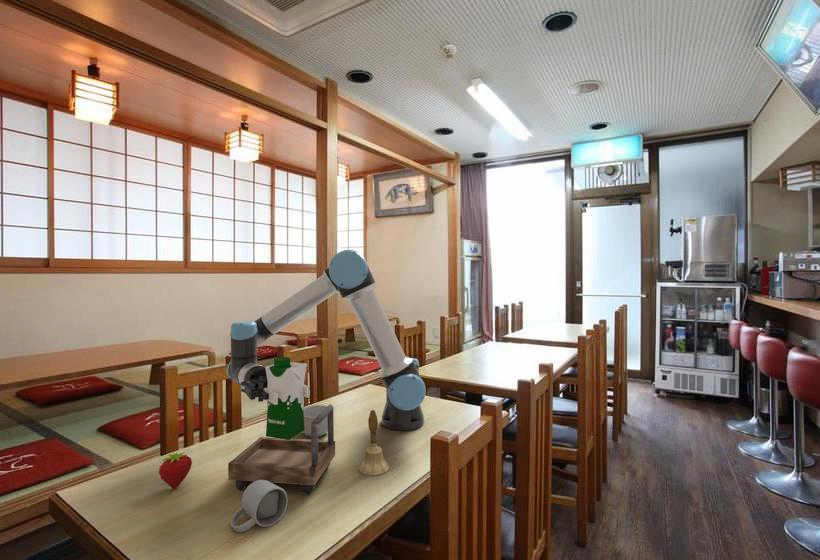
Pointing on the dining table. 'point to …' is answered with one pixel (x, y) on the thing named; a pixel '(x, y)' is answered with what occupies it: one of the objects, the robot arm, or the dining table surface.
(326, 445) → the walnut cart
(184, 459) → the strawberry
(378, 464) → the hand bell
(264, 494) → the ceramic mug
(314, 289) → the robot arm
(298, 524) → the dining table surface
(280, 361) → the soya milk
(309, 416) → the teacup
